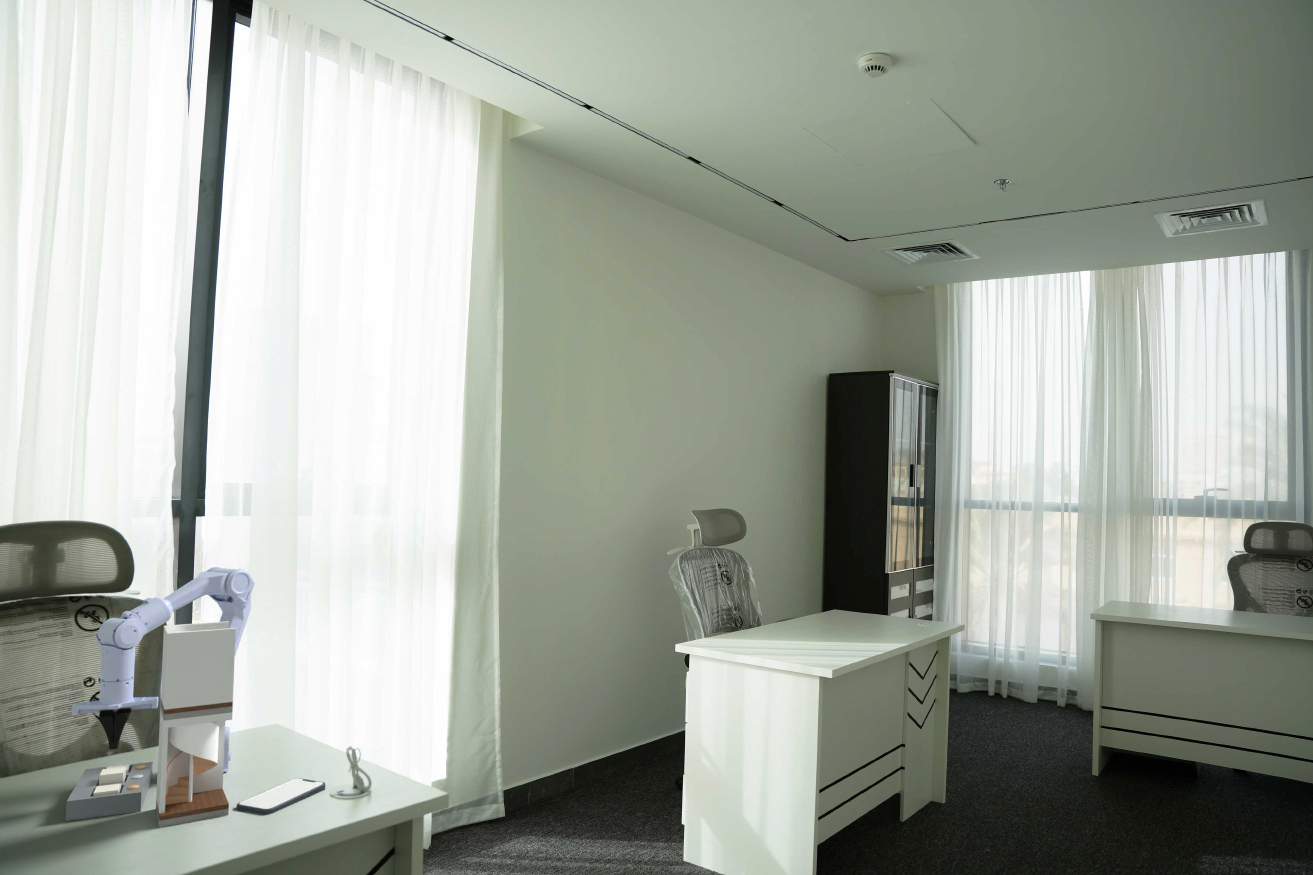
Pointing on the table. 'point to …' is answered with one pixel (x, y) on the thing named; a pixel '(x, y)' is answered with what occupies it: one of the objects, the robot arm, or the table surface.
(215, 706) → the spiral staircase model
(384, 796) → the table surface
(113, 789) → the button
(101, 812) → the button board
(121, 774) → the middle button
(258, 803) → the smartphone
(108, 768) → the button
